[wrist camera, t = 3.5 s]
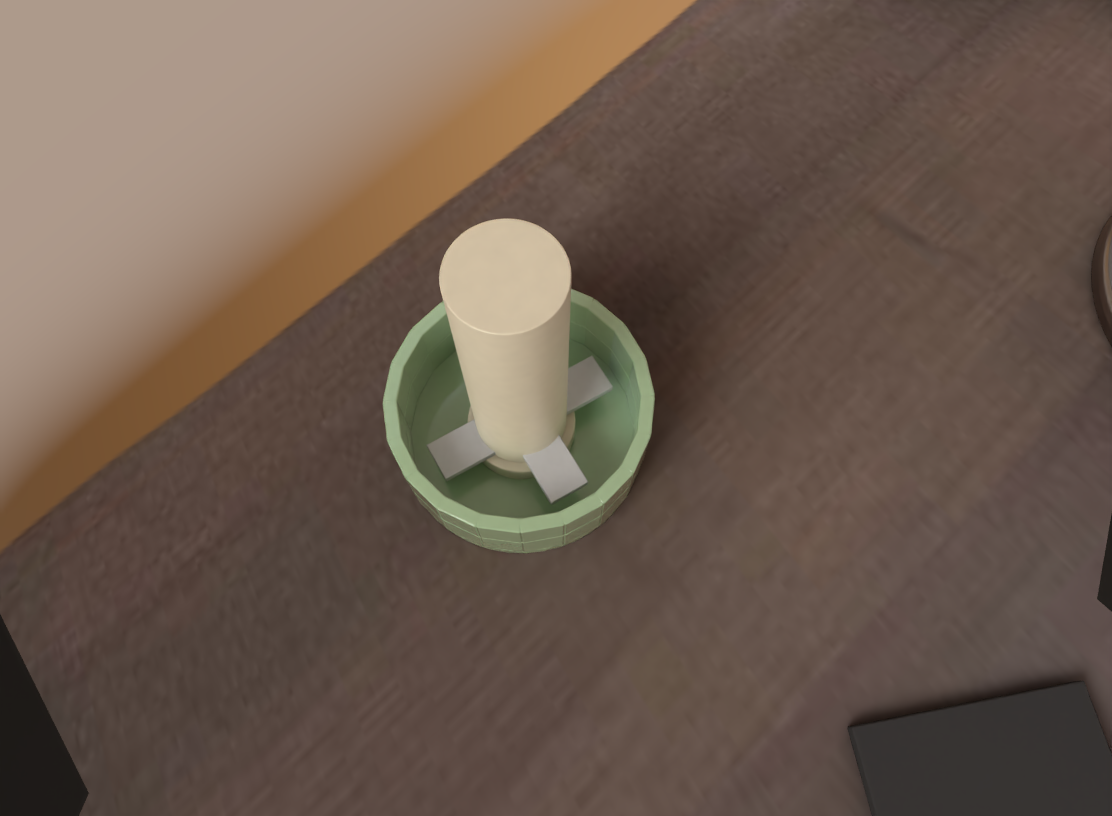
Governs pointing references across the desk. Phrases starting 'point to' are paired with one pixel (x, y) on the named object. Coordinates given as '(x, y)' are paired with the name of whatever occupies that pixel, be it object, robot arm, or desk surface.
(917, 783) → the mat
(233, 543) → the desk surface
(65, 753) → the robot arm
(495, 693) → the desk surface
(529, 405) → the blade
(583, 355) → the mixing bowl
